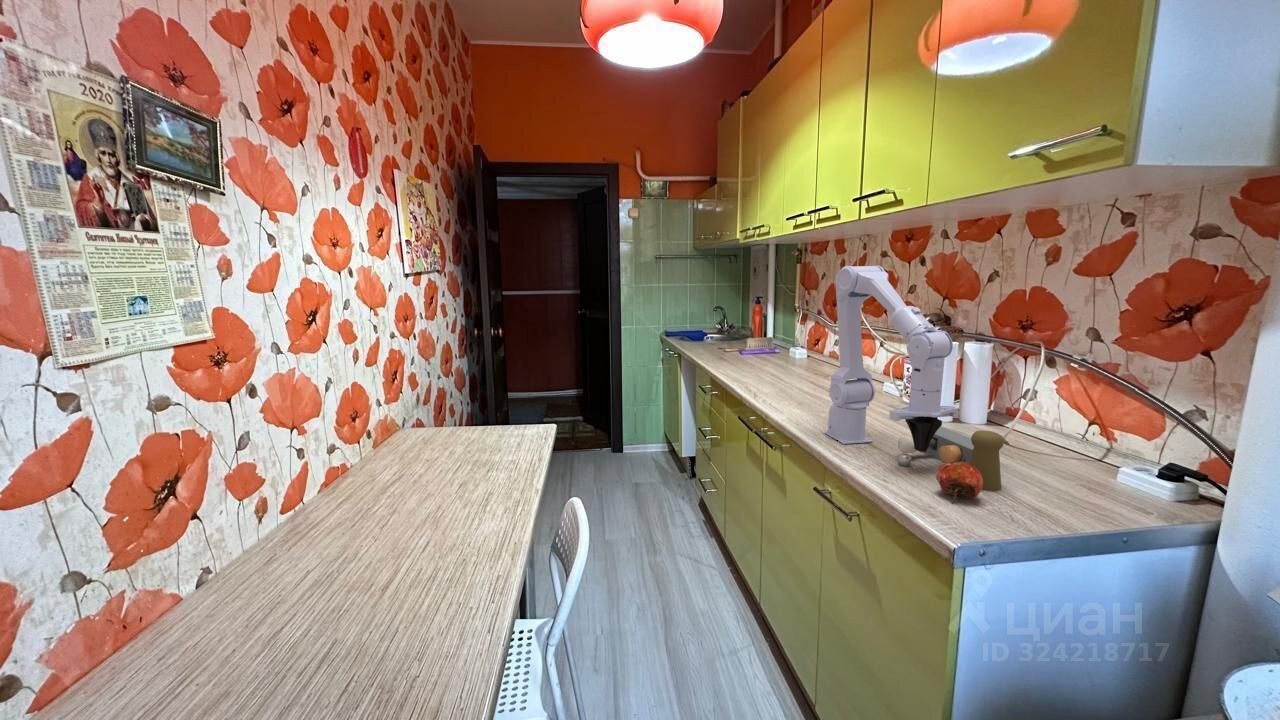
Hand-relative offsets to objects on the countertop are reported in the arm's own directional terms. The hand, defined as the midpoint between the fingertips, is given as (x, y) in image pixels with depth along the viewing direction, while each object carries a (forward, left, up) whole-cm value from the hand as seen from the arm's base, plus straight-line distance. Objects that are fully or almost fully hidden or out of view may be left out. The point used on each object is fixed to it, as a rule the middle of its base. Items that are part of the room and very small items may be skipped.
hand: (920, 450), depth 105 cm
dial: (-3, -1, -5) cm, 6 cm away
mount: (-3, +11, -5) cm, 13 cm away
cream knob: (-7, +6, -3) cm, 9 cm away
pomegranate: (+13, -2, -5) cm, 14 cm away
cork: (+9, +7, -5) cm, 12 cm away
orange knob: (0, +11, -3) cm, 11 cm away
